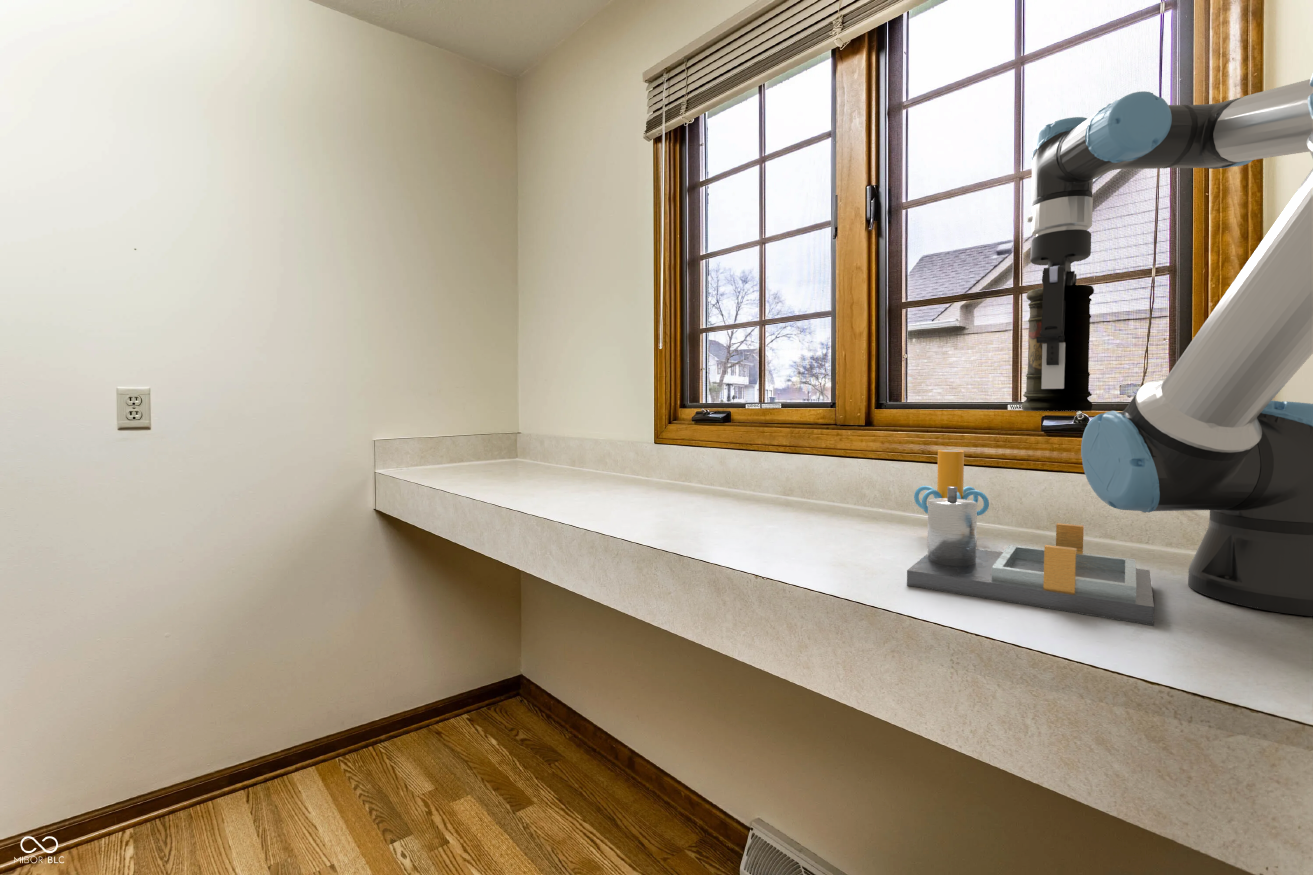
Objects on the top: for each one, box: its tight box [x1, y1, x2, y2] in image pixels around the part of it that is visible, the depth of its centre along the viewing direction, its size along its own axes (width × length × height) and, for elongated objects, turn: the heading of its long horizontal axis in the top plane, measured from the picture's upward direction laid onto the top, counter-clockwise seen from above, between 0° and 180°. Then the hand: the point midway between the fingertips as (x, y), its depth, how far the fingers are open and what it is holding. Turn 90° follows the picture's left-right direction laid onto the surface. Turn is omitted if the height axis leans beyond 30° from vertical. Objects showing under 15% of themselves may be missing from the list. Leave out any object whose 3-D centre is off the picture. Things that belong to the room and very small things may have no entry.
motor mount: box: [906, 487, 1155, 626], centre depth 80 cm, size 25×17×12 cm
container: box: [1021, 284, 1095, 412], centre depth 94 cm, size 9×9×18 cm
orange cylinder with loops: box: [913, 449, 990, 517], centre depth 107 cm, size 12×10×15 cm
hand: (1056, 388), depth 94 cm, fingers closed on container, 8 cm apart
